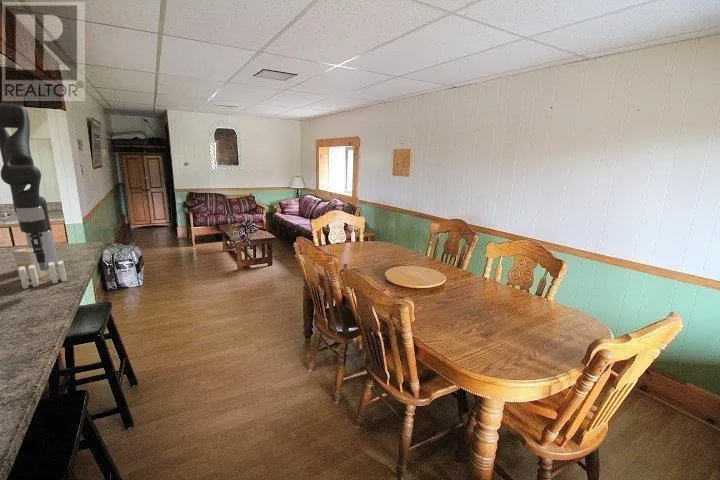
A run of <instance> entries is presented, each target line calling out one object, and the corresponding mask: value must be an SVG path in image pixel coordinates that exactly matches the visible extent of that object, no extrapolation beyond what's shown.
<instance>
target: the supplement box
mask: <svg viewBox="0 0 720 480" xmlns="http://www.w3.org/2000/svg"><path fill="white" fill-rule="evenodd" d="M12 253H13V254H12V255H13V258H14V260H15V265H16V269H17V272H18V276H19V278H20V275H19V271H18V269H19V267H22V266H25V270H26V274H27V278H28V281H32V280H31V276H30V272H29V265H35V269H36V273H37V277H38V281H39V280H41V279H44V278H47V272H46V271H47V270H42V271H41V270H40V266H39V263H38V262H37V258H36V254H34V250H33V249H30V248H29V247H27V248H25V247H24V248H19V249H15V250H13V251H12Z"/></svg>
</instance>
